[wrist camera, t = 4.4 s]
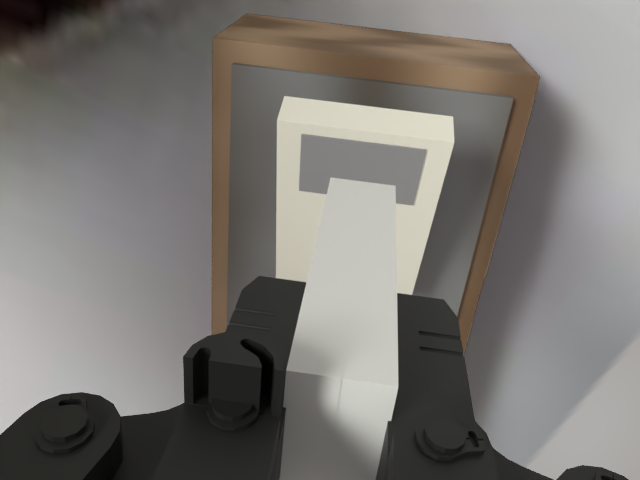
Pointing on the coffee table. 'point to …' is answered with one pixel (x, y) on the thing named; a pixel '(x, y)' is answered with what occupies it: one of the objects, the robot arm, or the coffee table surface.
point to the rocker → (357, 174)
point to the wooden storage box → (376, 91)
